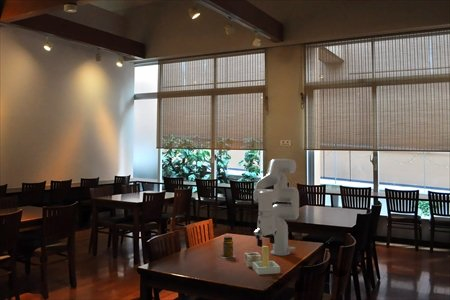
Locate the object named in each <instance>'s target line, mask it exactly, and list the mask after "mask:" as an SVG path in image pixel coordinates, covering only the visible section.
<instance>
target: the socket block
mask: <svg viewBox="0 0 450 300" xmlns="http://www.w3.org/2000/svg"><path fill="white" fill-rule="evenodd" d="M243 258H244V264H245V266H246V267H247V268H253V263H252V262H261V261H262V254H260V253H259V252H255V251H253V252H244V257H243Z"/></svg>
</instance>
